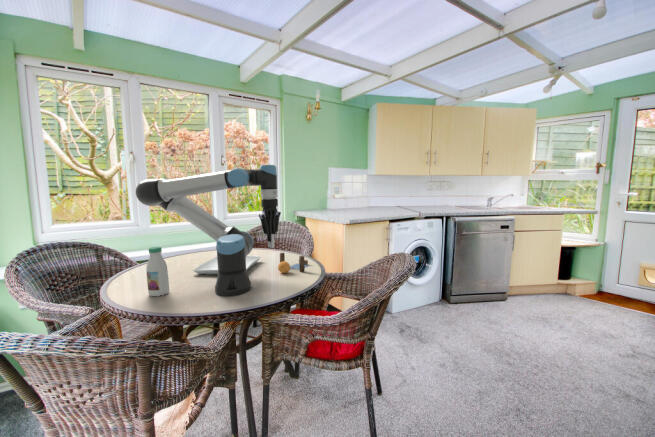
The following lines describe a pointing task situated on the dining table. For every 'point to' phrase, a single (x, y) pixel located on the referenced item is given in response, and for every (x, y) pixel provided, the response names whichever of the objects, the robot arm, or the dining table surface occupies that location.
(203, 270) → the square plate
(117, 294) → the dining table surface
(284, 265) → the ball
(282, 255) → the post left
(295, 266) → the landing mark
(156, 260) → the milk bottle
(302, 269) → the post right
